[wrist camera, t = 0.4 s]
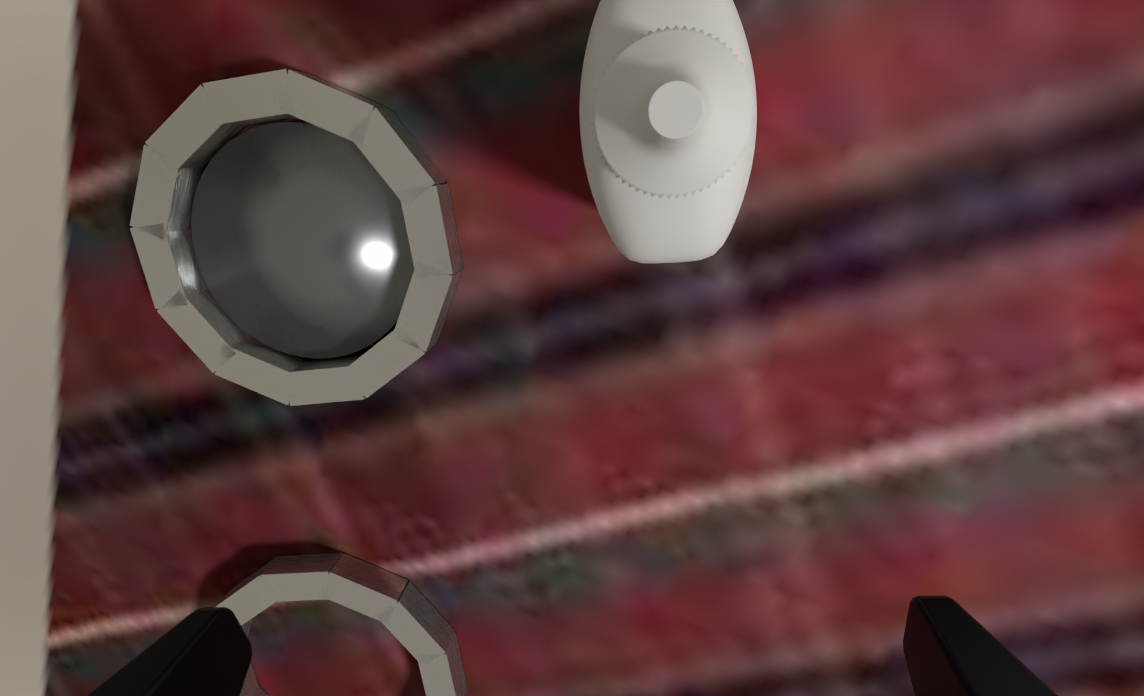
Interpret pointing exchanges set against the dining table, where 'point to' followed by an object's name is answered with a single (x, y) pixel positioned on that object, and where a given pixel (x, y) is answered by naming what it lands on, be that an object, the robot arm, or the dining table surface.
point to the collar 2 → (364, 594)
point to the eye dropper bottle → (668, 124)
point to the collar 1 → (295, 236)
